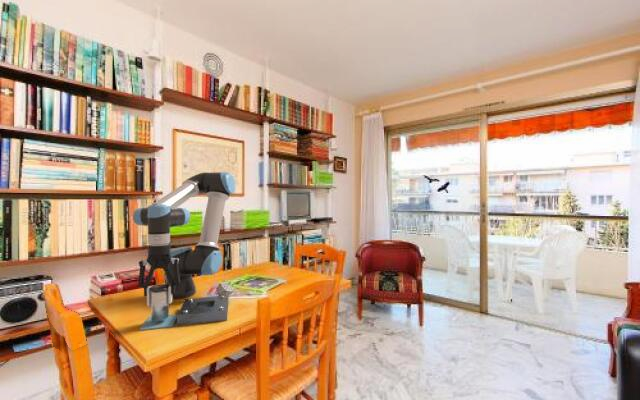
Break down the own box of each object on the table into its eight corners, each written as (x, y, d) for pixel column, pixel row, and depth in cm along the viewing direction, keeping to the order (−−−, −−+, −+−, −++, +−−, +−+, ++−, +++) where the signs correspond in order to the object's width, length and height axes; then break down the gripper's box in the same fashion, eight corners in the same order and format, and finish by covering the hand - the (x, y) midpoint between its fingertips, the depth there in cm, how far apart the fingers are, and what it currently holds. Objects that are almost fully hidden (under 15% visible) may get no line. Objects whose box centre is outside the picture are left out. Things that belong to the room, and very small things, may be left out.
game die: (222, 307, 138) (210, 294, 133) (220, 295, 145) (209, 282, 140) (239, 297, 139) (228, 283, 134) (237, 286, 146) (226, 272, 141)
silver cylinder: (152, 314, 115) (152, 284, 115) (171, 313, 117) (171, 283, 117) (147, 322, 109) (147, 290, 109) (167, 320, 111) (167, 288, 110)
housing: (185, 308, 128) (185, 297, 127) (228, 303, 132) (228, 293, 132) (177, 325, 110) (177, 313, 110) (227, 320, 115) (226, 308, 115)
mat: (148, 318, 117) (148, 317, 117) (178, 315, 120) (178, 314, 120) (139, 330, 106) (139, 329, 106) (172, 327, 109) (172, 325, 109)
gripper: (126, 247, 106) (127, 309, 107) (185, 244, 112) (185, 304, 112) (133, 243, 113) (134, 302, 114) (188, 241, 119) (188, 297, 119)
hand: (159, 303), depth 113 cm, fingers closed on silver cylinder, 7 cm apart
